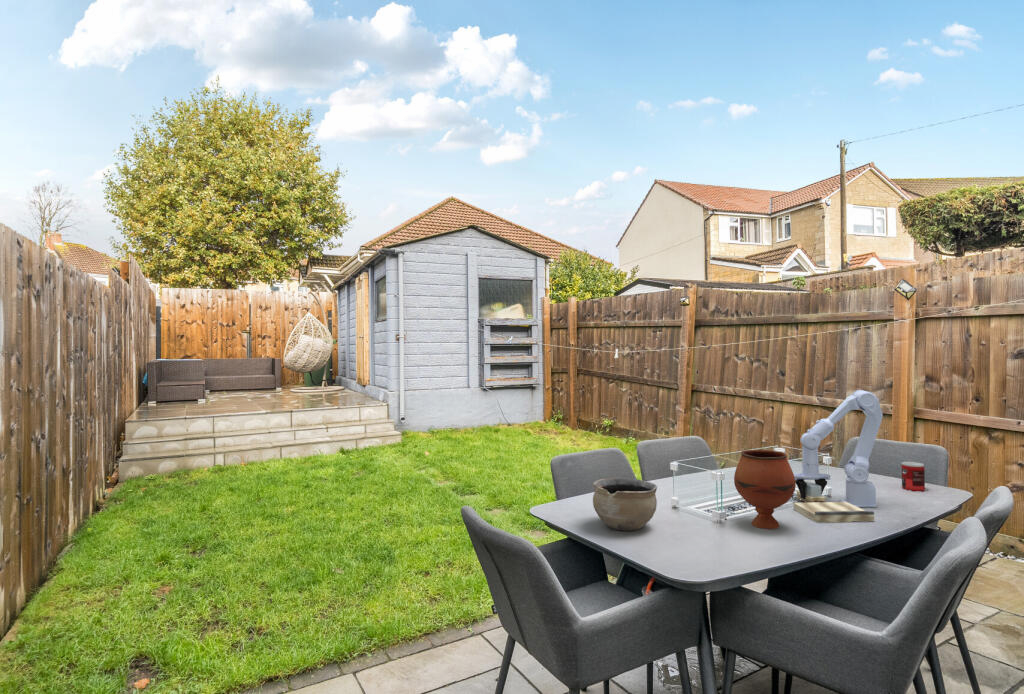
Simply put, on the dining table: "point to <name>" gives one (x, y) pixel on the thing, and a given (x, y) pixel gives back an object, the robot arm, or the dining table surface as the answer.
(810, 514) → the dock
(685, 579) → the dining table surface
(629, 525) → the ceramic bowl
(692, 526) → the dining table surface
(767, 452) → the goblet
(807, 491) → the pale grey cube
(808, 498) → the pallet
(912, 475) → the canned food
